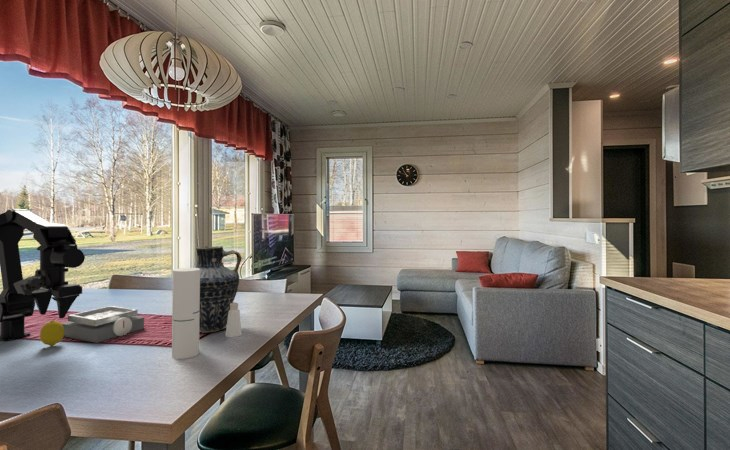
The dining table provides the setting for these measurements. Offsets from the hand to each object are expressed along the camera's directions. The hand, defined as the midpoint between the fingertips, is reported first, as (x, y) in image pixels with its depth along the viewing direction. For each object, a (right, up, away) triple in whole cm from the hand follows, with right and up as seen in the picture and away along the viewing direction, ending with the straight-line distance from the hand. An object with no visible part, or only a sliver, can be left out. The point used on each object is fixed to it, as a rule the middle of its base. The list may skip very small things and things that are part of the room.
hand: (52, 316), depth 107 cm
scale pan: (+5, -4, +14) cm, 16 cm away
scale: (+5, -9, +14) cm, 18 cm away
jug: (+40, -10, +19) cm, 46 cm away
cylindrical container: (+43, -10, -4) cm, 45 cm away
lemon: (0, -9, 0) cm, 9 cm away
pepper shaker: (+51, -10, +13) cm, 53 cm away
